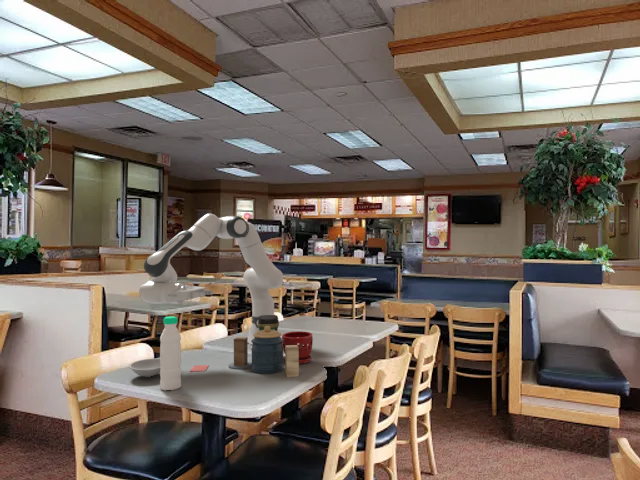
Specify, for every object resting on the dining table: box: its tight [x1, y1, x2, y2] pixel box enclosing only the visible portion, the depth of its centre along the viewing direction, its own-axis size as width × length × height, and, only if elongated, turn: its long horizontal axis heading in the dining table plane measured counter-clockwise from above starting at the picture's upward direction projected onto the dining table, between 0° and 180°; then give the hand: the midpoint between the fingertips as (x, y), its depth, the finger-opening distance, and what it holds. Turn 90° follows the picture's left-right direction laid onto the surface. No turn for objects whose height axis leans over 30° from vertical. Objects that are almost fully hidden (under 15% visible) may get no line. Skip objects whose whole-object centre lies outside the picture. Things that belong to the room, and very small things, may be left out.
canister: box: [250, 326, 285, 374], centre depth 193 cm, size 13×13×18 cm
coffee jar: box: [258, 314, 280, 332], centre depth 217 cm, size 10×8×19 cm
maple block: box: [284, 344, 300, 378], centre depth 185 cm, size 4×4×11 cm
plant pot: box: [281, 331, 314, 365], centre depth 206 cm, size 13×13×12 cm
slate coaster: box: [228, 361, 252, 370], centre depth 199 cm, size 10×10×1 cm
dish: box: [128, 358, 161, 378], centre depth 184 cm, size 18×14×5 cm
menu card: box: [189, 364, 210, 373], centre depth 195 cm, size 9×6×1 cm, turn 4°
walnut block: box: [233, 336, 249, 366], centre depth 199 cm, size 4×4×11 cm
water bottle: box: [159, 315, 182, 391], centre depth 169 cm, size 7×7×25 cm
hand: (208, 293), depth 202 cm, fingers open, 8 cm apart
